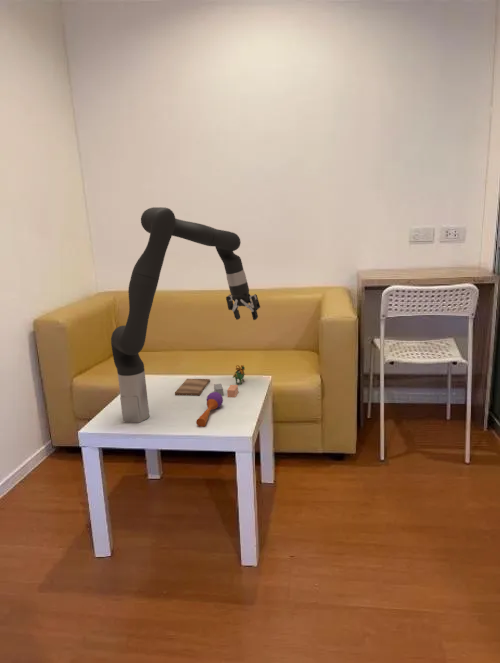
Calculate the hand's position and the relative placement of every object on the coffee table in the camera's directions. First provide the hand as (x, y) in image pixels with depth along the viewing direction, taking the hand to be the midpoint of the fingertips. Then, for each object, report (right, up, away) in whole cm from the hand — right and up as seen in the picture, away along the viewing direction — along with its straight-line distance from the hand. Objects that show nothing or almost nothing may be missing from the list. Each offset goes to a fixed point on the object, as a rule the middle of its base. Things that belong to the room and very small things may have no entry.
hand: (246, 319), depth 211 cm
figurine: (-3, -27, +2) cm, 27 cm away
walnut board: (-22, -28, 0) cm, 36 cm away
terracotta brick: (-5, -30, -9) cm, 32 cm away
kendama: (-13, -35, -27) cm, 46 cm away
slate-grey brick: (-11, -30, -7) cm, 32 cm away
